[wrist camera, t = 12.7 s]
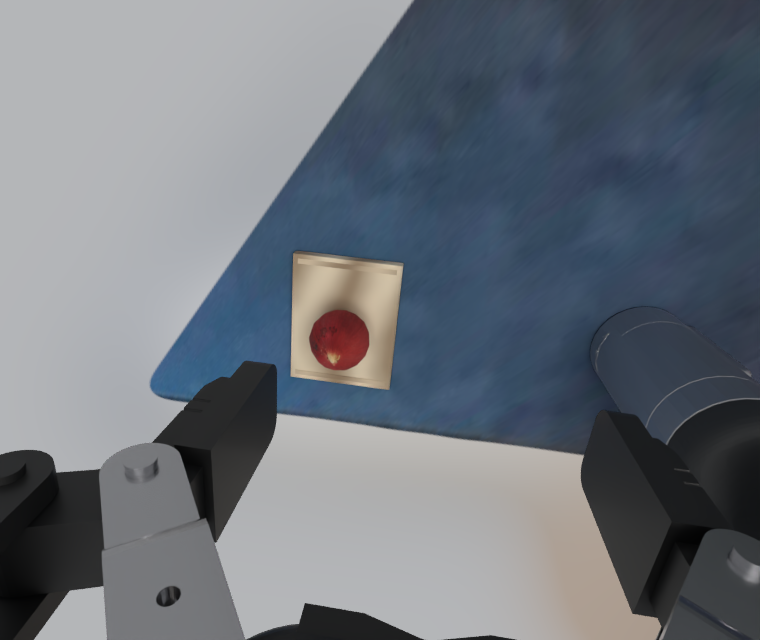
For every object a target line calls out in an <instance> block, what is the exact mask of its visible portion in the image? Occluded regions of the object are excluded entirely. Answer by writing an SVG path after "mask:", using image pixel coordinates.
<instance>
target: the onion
mask: <svg viewBox="0 0 760 640" xmlns="http://www.w3.org/2000/svg"><path fill="white" fill-rule="evenodd" d="M309 342H310V347H311V352H312V353H313V355H314V356H315V358H316V359H317V361H318V362H319V363H320V364H321V365H323V366H324V367H325V368H328V369H332V370H347V369H350V368H352V367H354V366H357V364H358V363H359V362H360V361H361V360H362V359H363V358H364V357H365V356H366V353H367V351H368V348H369V331H368V329H367V327H366V324H365V322H364V321H363V320H362V319H361V318H360V317H359V316H357V315H356V314H354V313H352V312H349V311H347V310H333V311H330V312H327V313H325V314H324V315H322V316H321V317H320V318H319V319H318V320H317V321H316V322H315V323H314V324H313V327H312V330H311V333H310V336H309Z"/></svg>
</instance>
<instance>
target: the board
mask: <svg viewBox="0 0 760 640" xmlns="http://www.w3.org/2000/svg"><path fill="white" fill-rule="evenodd" d="M403 264H404V263H398V262H389V261H381V260H372V259H364V258H355V257H347V256H338V255H330V254H321V253H313V252H304V251H295V252H294V253H293V289H292V340H291V376H292V377H299V378H306V379H314V380H321V381H328V382H335V383H343V384H350V385H357V386H364V387H372V388H379V389H386V390H389V387H390V381H391V372H392V363H393V354H394V345H395V336H396V327H397V318H398V309H399V300H400V291H401V282H402V273H403ZM333 310H347V311H349V312H352V313H354V314H356V315H357V316H359V317H360V318H361V319H362V320H363V321H364V322H365V324H366V327H367V329H368V331H369V348H368V351H367V353H366V356H365V357H364V358H363V359H362V360H361V361H360V362H359V363H358V364H357V366H354V367H352V368H350V369H347V370H332V369H328V368H325V367H324V366H323V365H321V364H320V363H319V362H318V361H317V359H316V358H315V356H314V355H313V353H312V352H311V347H310V342H309V336H310V333H311V330H312V327H313V324H314V323H315V322H316V321H317V320H318V319H319V318H320V317H321V316H322V315H324V314H325V313H327V312H330V311H333Z"/></svg>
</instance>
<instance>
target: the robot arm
mask: <svg viewBox="0 0 760 640" xmlns="http://www.w3.org/2000/svg"><path fill="white" fill-rule="evenodd" d="M590 358H591V363H592V366H593V368H594V370H595V372H596V373H597V375H598V376H599V378H600V380H601V381H602V383H603V384H604V386H605V387H606V389H607V391H608V392H609V394H610V396H611V397H612V399H613V400H614V402H615V403H616V405H617V406H618V408H619V410H620V411H621V413H620V412H613V411H606V410H602V411H600V412H599V413H598V415H597V417H596V420H595V423H594V426H593V429H592V432H591V436H590V439H589V442H588V445H587V449H586V452H585V455H584V458H583V462H582V467H581V483H582V487H583V490H584V493H585V495H586V498H587V500H588V503H589V505H590V508H591V510H592V513H593V516H594V518H595V521H596V523H597V526H598V528H599V531H600V533H601V536H602V538H603V541H604V543H605V546H606V548H607V550H608V553H609V556H610V558H611V561H612V563H613V566H614V568H615V571H616V573H617V576H618V578H619V581H620V583H621V586H622V588H623V590H624V593H625V596H626V598H627V601H628V603H629V606H630V608H631V611H632V613H633V614H638V615H644V616H650V617H656V618H658V620H659V622H660V624H661V629H660V631H659V633H658V635H657V638H656V640H760V384H759V383H757V382H756V381H755V380H754V379H752V378H751V377H752V375H751V372H750V371H749V370H748V369H747V368H746V367H744V366H743V365H742V364H741V363H739V362H738V361H737V360H735V359H734V358H733V357H731V356H730V355H729V354H728V353H726V352H725V351H724V350H722V349H721V348H720V347H719V346H717V345H716V344H715V343H713V342H712V341H711V340H710V339H708V338H707V337H706V336H704V335H703V334H702V333H701V332H699V331H698V330H697V329H695V328H694V327H690V326H686V325H685V324H684V323H683V322H681V321H680V320H679V319H678V318H676V317H675V316H674V315H672V314H670V313H669V312H667V311H664V310H662V309H659V308H653V307H636V308H632V309H628V310H625V311H623V312H620V313H618V314H616V315H615V316H613V317H612V318H610V319H609V320H607V321H606V322H605V323H604V324H603V325H602V326H601V327H600V329H599V330H598V331H597V333H596V334H595V336H594V339H593V341H592V344H591V349H590ZM276 416H277V369H276V366H275V365H274V364H267V363H260V362H252V361H244V362H243V363H242V365H241V366H240V367H239V368H238V369H237V370H236V372H235V373H234V374H233V375H232V376H231V378H227V377H220V378H218V379H216V380H214V381H213V382H211V383H209V384H207V385H205V386H204V387H203V388H202V389H201V390H200V391H199V392H198V393H197V394H196V395H195V396H194V398H193V400H191V401H190V402H189V403H188V404H187V405H186V406H185V407H184V411H183V410H182V411H181V412H180V413H179V414H178V415H177V416H176V417H175V418H174V420H173V421H172V422H171V423H170V424H169V425H168V426H167V427H166V428H165V429H164V430H163V431H162V433H161V434H160V435H159V436H158V437H157V438H156V439H155V440H154V441H153V442H152V443H145V444H139V445H135V446H131V447H128V448H126V449H123V450H121V451H119V452H117V453H116V454H114V455H113V456H111V457H110V458H109V459H108V460H107V461H106V462H105V463H104V464H103V466H102V467H101V469H98V470H86V471H73V472H60V473H56V469H55V465H54V461H53V458H52V457H51V456H50V455H49V454H47V453H44V452H42V451H37V450H20V451H14V452H9V453H5V454H1V455H0V640H34V639H35V637H36V636H37V634H38V633H39V632H40V630H41V629H42V628H43V626H44V625H45V624H46V622H47V621H48V619H49V618H50V617H51V615H52V614H53V613H54V611H55V610H56V609H57V607H58V605H59V604H60V603H61V602H62V600H63V599H64V598H65V596H66V595H67V593H68V592H69V591H70V590H77V589H85V588H92V587H100V586H104V598H105V613H106V628H107V640H245V637H244V634H243V631H242V628H241V625H240V622H239V618H238V616H237V612H236V609H235V606H234V603H233V599H232V597H231V593H230V590H229V587H228V584H227V581H226V578H225V575H224V571H223V568H222V565H221V562H220V559H219V556H218V553H217V550H216V546H215V543H214V542H217V540H218V538H219V536H220V535H221V533H222V531H223V529H224V527H225V525H226V524H227V522H228V520H229V518H230V516H231V514H232V513H233V511H234V509H235V507H236V505H237V503H238V501H239V500H240V498H241V496H242V493H243V492H244V490H245V488H246V487H247V484H248V482H249V481H250V479H251V477H252V476H253V474H254V472H255V470H256V468H257V466H258V464H259V463H260V460H261V459H262V457H263V455H264V453H265V452H266V450H267V448H268V446H269V444H270V442H271V440H272V438H273V435H274V431H275V426H276V418H277V417H276ZM247 640H424V639H420V638H418V637H416V636H414V635H412V634H409V633H407V632H405V631H403V630H400V629H398V628H396V627H393V626H391V625H389V624H387V623H385V622H383V621H380V620H378V619H376V618H374V617H371V616H369V615H367V614H365V613H359V612H353V611H347V610H342V609H336V608H330V607H325V606H318V605H313V604H307V603H305V605H304V609H303V612H302V616H301V619H300V623H299V624H295V625H287V626H282V627H278V628H273V629H271V630H268V631H265V632H262V633H259V634H257V635H255V636H253V637H251V638H249V639H247ZM447 640H515V639H509V638H503V637H497V636H491V635H490V636H479V637H468V638H457V639H447Z"/></svg>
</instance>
